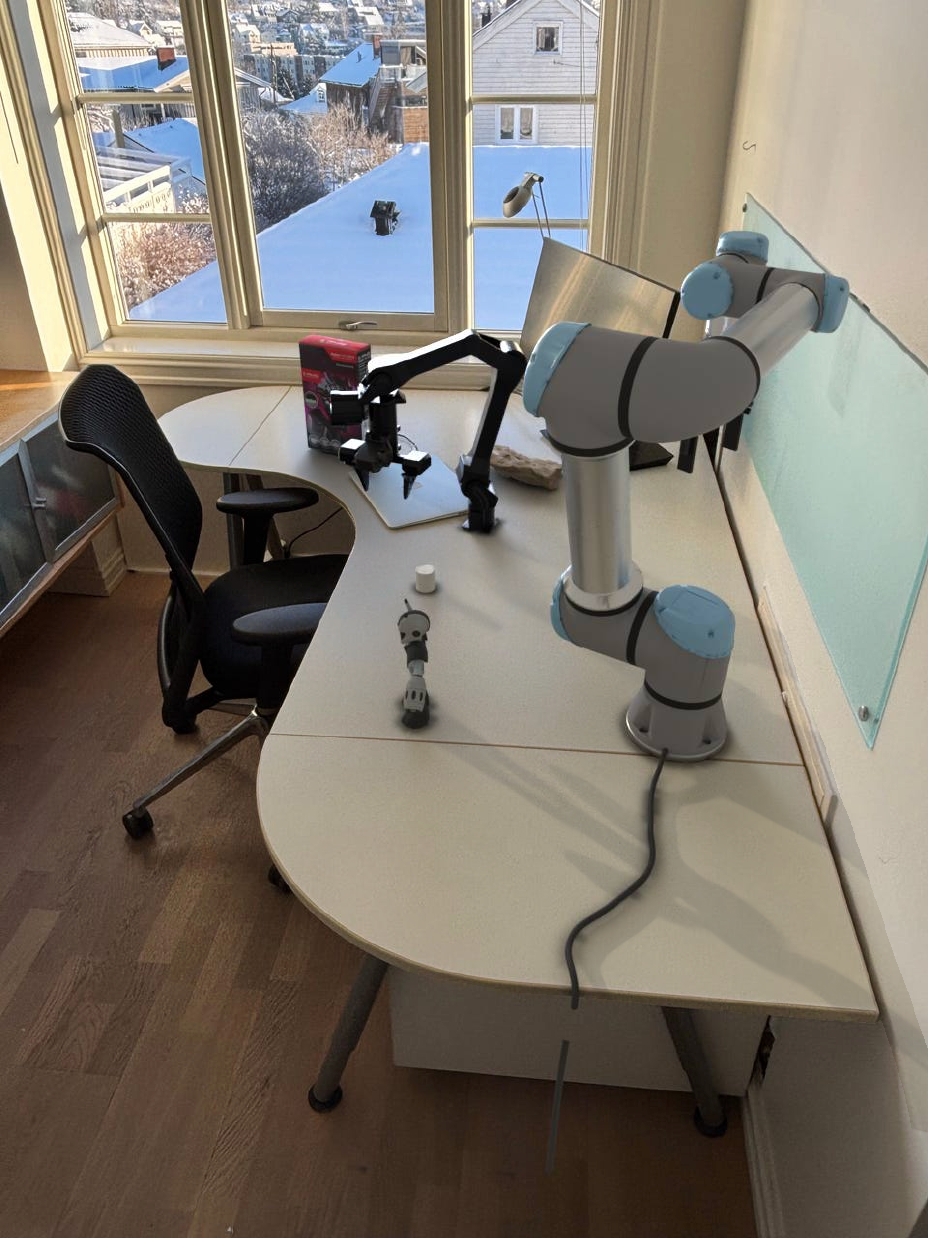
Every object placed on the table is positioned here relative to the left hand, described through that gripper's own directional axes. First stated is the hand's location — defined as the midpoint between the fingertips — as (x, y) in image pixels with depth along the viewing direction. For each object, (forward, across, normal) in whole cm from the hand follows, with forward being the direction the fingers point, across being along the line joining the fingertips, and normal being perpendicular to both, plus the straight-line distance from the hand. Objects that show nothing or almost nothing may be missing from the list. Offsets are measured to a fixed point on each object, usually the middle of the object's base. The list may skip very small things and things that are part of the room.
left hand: (386, 494), depth 192 cm
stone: (+8, +16, +36) cm, 40 cm away
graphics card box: (+8, -29, +32) cm, 44 cm away
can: (+8, +17, -18) cm, 26 cm away
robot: (+8, +32, -52) cm, 62 cm away
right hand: (-20, +64, -1) cm, 67 cm away
